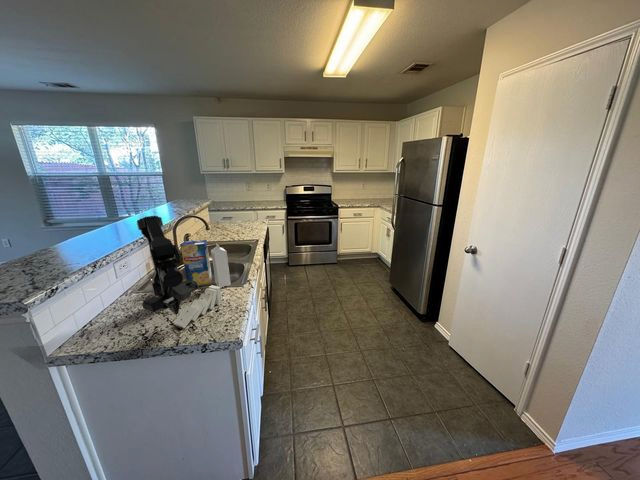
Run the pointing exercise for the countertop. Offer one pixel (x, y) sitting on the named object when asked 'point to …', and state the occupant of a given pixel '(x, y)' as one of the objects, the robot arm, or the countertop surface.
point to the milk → (220, 266)
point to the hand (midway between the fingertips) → (176, 314)
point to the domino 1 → (185, 316)
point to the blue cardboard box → (196, 261)
